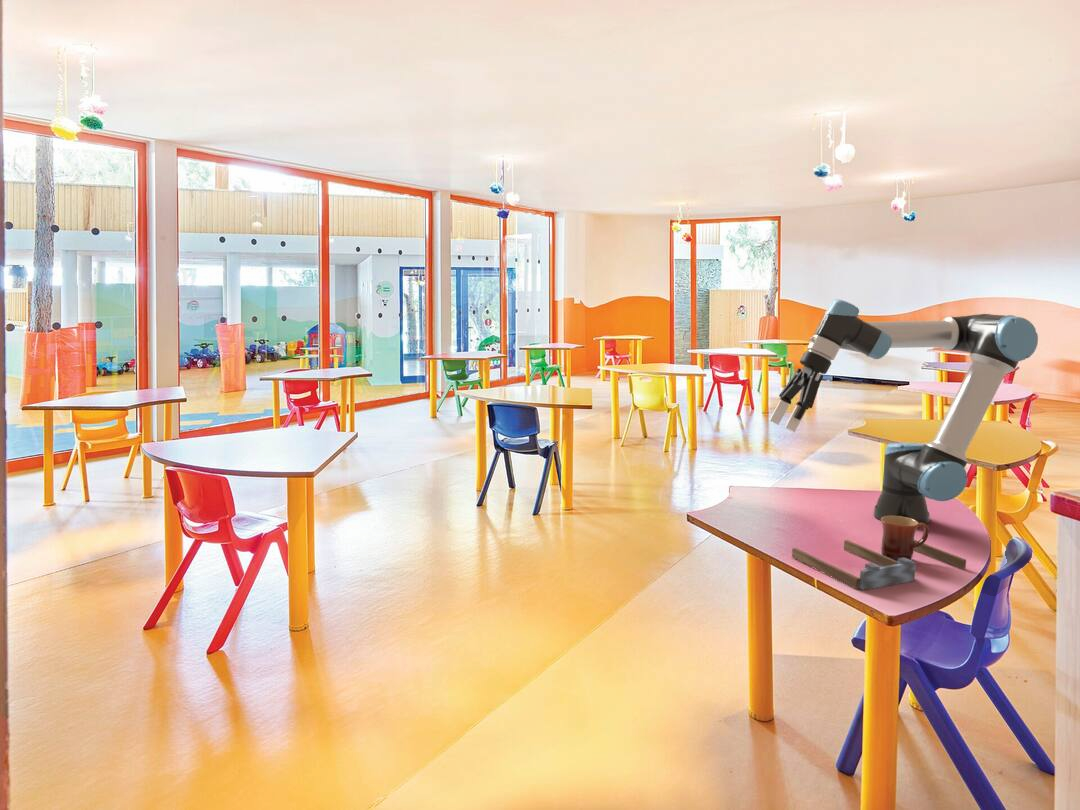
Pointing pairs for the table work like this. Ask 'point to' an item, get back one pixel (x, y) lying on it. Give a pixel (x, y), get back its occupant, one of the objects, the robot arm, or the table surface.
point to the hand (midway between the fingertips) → (781, 426)
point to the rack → (875, 574)
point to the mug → (900, 536)
